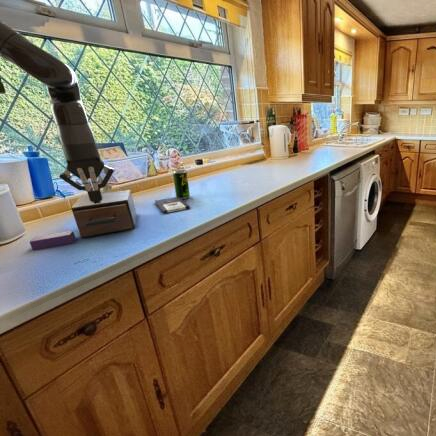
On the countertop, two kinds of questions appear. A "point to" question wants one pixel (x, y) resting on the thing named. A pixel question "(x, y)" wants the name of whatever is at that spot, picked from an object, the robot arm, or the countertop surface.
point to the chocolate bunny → (106, 188)
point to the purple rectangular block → (52, 240)
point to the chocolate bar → (171, 204)
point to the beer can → (181, 183)
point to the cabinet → (109, 200)
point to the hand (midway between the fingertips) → (97, 202)
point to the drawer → (102, 219)
